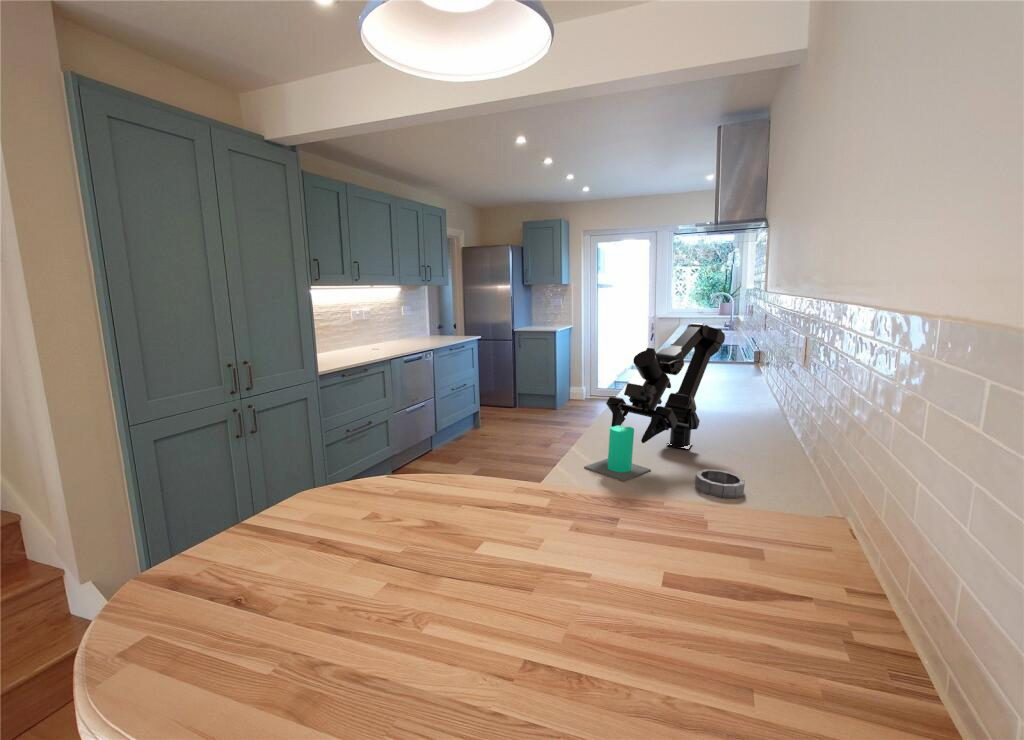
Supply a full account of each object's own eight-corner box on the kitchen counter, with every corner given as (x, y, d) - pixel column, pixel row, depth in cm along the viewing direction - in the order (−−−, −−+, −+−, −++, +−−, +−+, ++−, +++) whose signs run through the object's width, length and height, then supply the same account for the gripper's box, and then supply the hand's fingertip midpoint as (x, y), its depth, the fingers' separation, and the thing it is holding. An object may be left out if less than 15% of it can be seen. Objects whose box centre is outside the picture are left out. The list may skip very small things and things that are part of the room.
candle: (636, 469, 122) (639, 423, 120) (620, 474, 119) (623, 426, 117) (618, 462, 127) (621, 418, 125) (602, 466, 123) (605, 421, 122)
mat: (611, 458, 131) (611, 457, 131) (650, 470, 123) (650, 469, 123) (584, 468, 123) (584, 466, 123) (624, 482, 115) (624, 480, 114)
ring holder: (699, 478, 119) (700, 466, 118) (745, 487, 114) (746, 475, 113) (691, 491, 110) (692, 479, 110) (740, 502, 105) (742, 489, 104)
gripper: (612, 367, 132) (584, 412, 126) (675, 377, 118) (648, 428, 112) (626, 391, 138) (601, 436, 132) (688, 403, 125) (663, 453, 119)
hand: (626, 438), depth 124 cm, fingers open, 9 cm apart
